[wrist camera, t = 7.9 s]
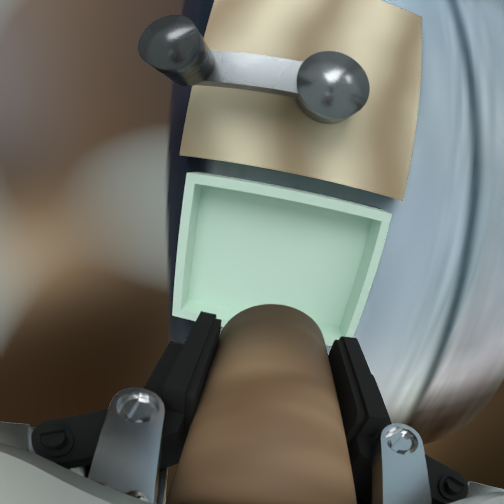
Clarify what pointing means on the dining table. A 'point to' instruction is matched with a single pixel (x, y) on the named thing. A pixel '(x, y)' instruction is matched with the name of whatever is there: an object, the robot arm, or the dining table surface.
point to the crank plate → (286, 109)
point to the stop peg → (266, 418)
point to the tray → (275, 252)
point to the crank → (257, 70)
